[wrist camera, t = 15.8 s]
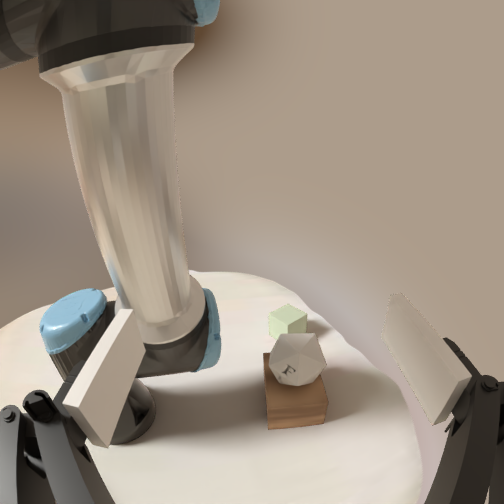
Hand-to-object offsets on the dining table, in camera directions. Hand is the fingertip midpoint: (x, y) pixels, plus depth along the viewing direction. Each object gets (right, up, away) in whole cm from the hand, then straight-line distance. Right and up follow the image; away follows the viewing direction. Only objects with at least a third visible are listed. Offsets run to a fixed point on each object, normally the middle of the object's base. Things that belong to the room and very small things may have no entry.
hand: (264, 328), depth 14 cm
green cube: (+7, -15, +49) cm, 52 cm away
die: (+6, -17, +29) cm, 34 cm away
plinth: (+6, -22, +31) cm, 39 cm away
